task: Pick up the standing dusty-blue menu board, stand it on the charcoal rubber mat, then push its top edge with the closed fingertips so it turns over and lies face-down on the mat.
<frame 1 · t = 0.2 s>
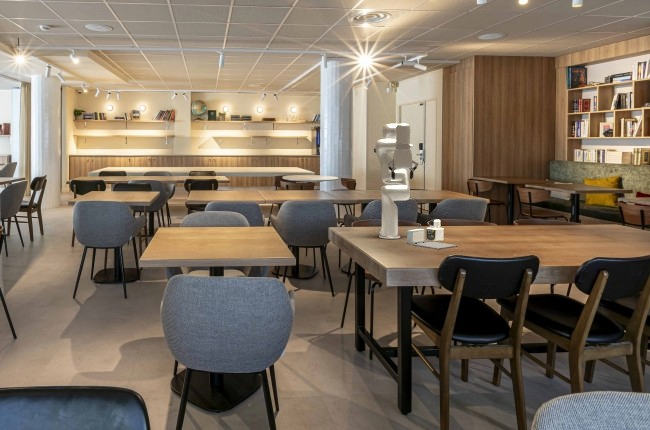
hand: (402, 179, 340), 37 cm above the table, tool pointing down, fingers open, 9 cm apart
mat: (435, 245, 345), on the table
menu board: (416, 243, 355), on the table
medicine bottle: (434, 240, 366), on the table
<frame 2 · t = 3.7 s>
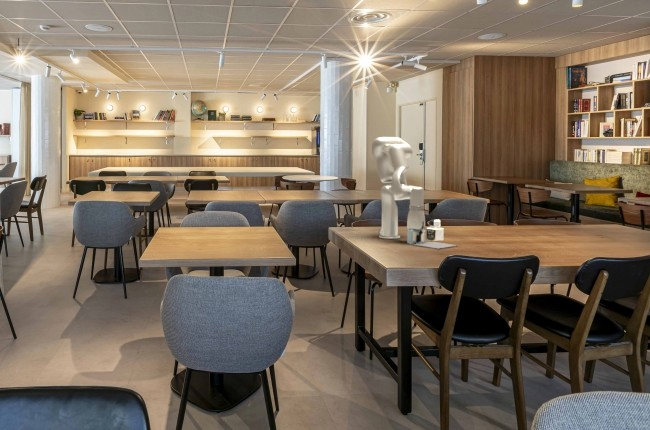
hand: (416, 241, 355), 1 cm above the table, tool pointing down, fingers closed on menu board, 3 cm apart
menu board: (415, 242, 355), on the table, touching gripper
everything else where it was.
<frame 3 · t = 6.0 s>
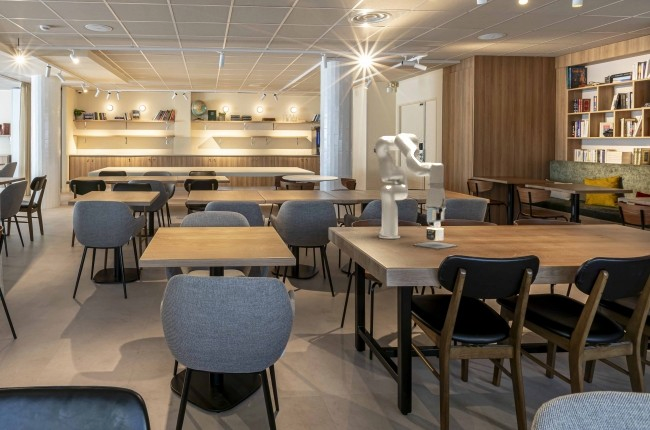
hand: (435, 219, 343), 15 cm above the table, tool pointing down, fingers closed on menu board, 3 cm apart
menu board: (435, 221, 343), point 14 cm above the table, touching gripper
everything else where it was.
when the fingers open (3 cm above the table, at t = 8.3 s): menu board stays where it is, resting on mat.
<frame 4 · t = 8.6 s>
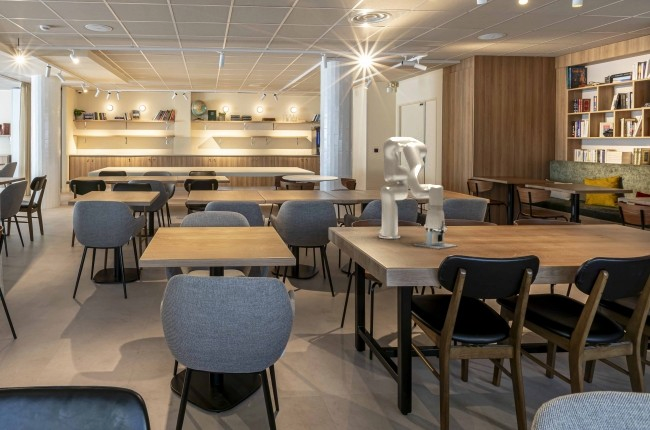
hand: (435, 240, 344), 3 cm above the table, tool pointing down, fingers open, 6 cm apart
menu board: (434, 244, 345), point 1 cm above the table, touching mat
everything else where it was.
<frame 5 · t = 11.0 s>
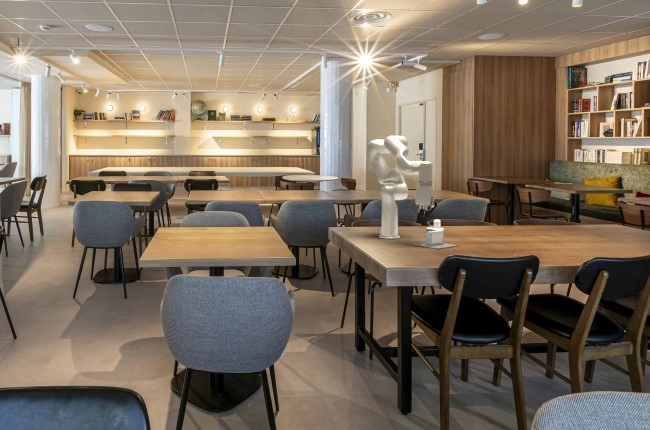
hand: (424, 216, 349), 15 cm above the table, tool pointing down, fingers open, 3 cm apart
nothing on the table moved.
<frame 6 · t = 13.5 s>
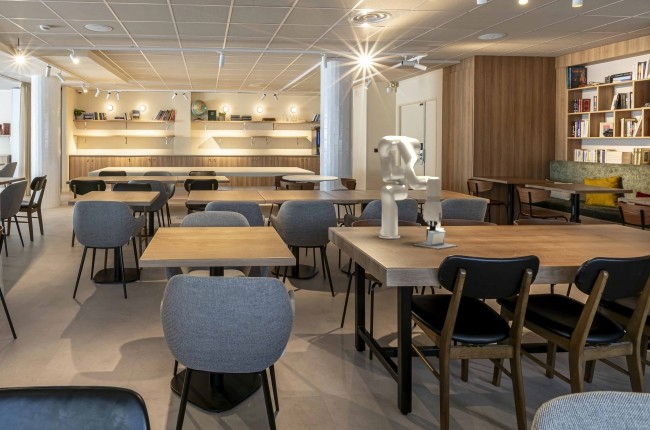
hand: (432, 233, 345), 7 cm above the table, tool pointing down, fingers closed
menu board: (434, 244, 345), point 1 cm above the table, tilted 11°, touching mat
everything else where it was.
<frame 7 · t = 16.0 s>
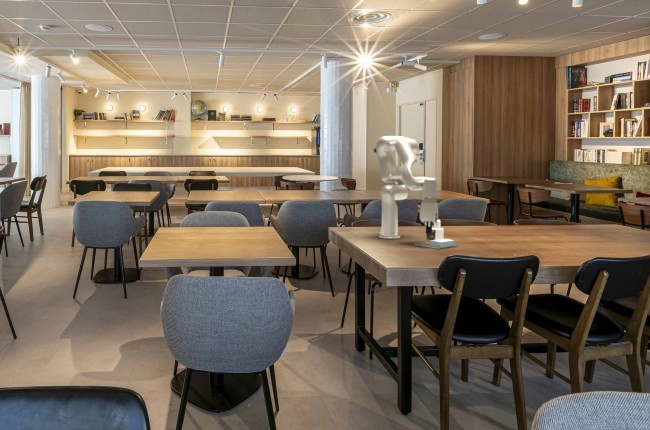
hand: (428, 233, 348), 6 cm above the table, tool pointing down, fingers closed
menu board: (437, 242, 343), point 2 cm above the table, tilted 90°, touching mat
everything else where it was.
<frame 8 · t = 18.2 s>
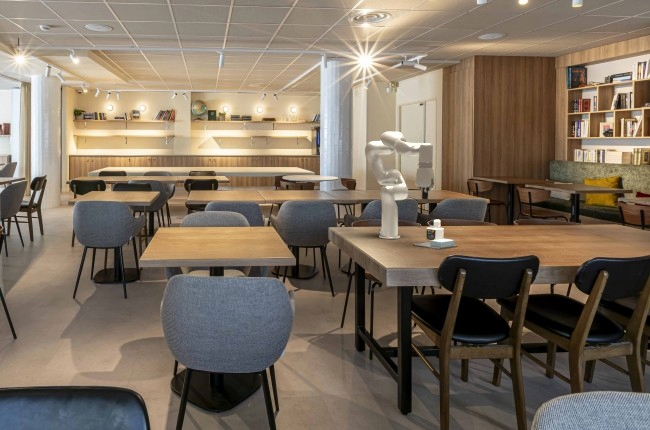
hand: (424, 199, 348), 25 cm above the table, tool pointing down, fingers closed
nothing on the table moved.
at the end: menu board tilted 90°; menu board inside the target area on the mat (0.9 cm from its centre), point 2.2 cm above the mat's base; the gripper is holding nothing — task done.
